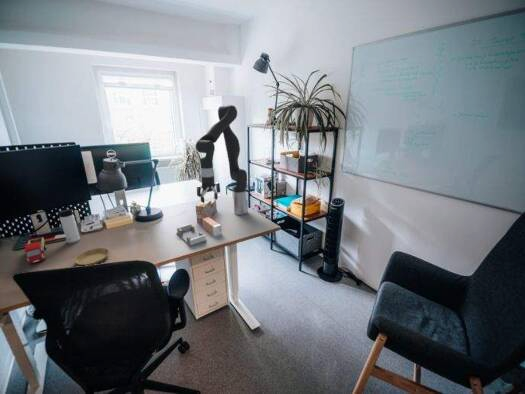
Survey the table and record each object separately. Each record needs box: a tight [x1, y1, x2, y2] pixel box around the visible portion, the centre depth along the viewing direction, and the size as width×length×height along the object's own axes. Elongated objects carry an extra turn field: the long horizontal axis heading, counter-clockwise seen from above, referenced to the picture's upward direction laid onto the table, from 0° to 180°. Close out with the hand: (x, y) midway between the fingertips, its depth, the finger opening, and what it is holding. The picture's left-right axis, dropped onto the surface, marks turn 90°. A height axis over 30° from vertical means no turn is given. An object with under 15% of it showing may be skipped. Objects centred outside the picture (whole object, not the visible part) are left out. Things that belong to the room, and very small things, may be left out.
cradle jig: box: [176, 223, 208, 248], centre depth 147 cm, size 10×20×4 cm, turn 39°
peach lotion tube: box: [202, 217, 222, 237], centre depth 155 cm, size 5×16×6 cm, turn 39°
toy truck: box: [24, 236, 47, 264], centre depth 128 cm, size 7×21×10 cm, turn 38°
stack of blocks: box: [195, 198, 218, 223], centre depth 175 cm, size 21×6×12 cm, turn 169°
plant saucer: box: [74, 247, 110, 266], centre depth 126 cm, size 15×15×3 cm
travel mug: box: [57, 208, 81, 244], centre depth 141 cm, size 6×7×20 cm
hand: (209, 200), depth 149 cm, fingers open, 8 cm apart
